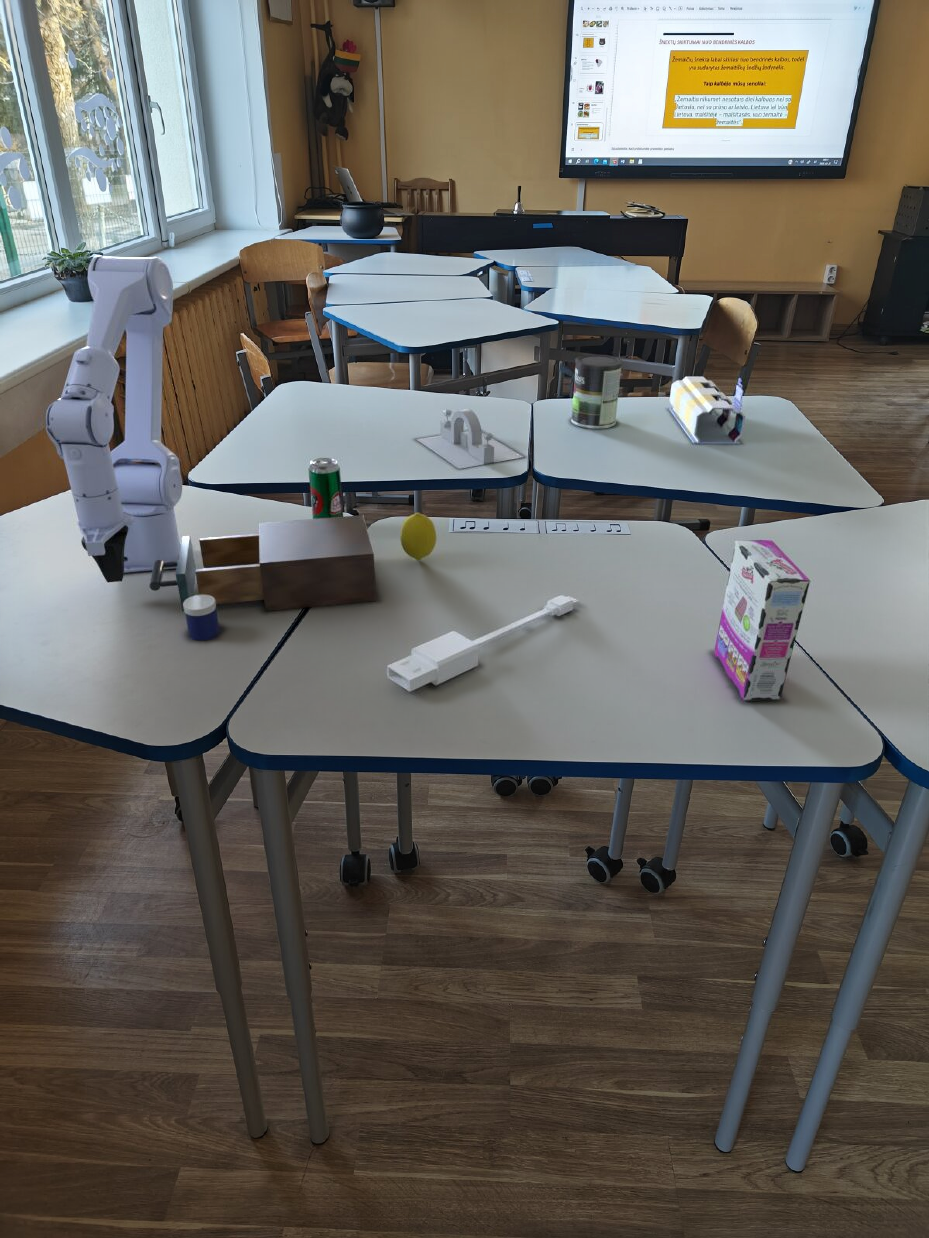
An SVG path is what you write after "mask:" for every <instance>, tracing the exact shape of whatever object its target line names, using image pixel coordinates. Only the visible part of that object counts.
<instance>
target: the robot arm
mask: <svg viewBox="0 0 929 1238" xmlns="http://www.w3.org/2000/svg"><path fill="white" fill-rule="evenodd" d="M87 283H88V288H89V292H90V296H91V298H92V300H93V305H92V311H91V316H90V322H89V327H88V333H87V338H86V344H85V347H82V348H79V349H77V350H75V351H74V353H73V356H72V359H71V362H70V366H69V369H68V372H67V376H66V379H65V383H64V385H63V390H62V393H61V396H60V398H57V399H56V400H55V401H54V402H52V403H50V405H49V406H48V408H47V410H46V414H45V422H46V427H45V430H46V434H47V436H48V438H49V440H50V441H51V443H53V445H54V446H55V449H56V452H57V456H59V458H61V459H63V462H64V465H65V470H66V473H67V477H68V482H69V486H70V491H71V495H72V499H73V501H74V506H75V511H76V515H77V519H78V520H77V526H78V530H79V531H80V533H81V535H82V538H81V541H80V542H81V546H82V548H83V549H84V550H85V551H86V552H87V555H88V557H92V559H93V560H94V561H95V563H96V565H97V566H98V569H99V570H100V572H101V574H102V576H103V578H104V579H105V581H106V583H118V582H123V580H124V576H125V573H136V572H148V571H153V567H154V563H155V561H156V560H162V561H163V562H176V561H178V557H179V551H180V545H181V540H180V534H179V529H178V524H177V519H176V513H175V508H174V507H176V505H177V504H178V503H179V502H180V500H181V498H182V494H183V479H182V475H181V467H180V459H179V457H178V456H177V455H176V454H175V453H174V452H173V451H171V449H169V448H168V447H167V446H166V445H164V444H163V443H162V401H163V400H162V399H163V397H162V396H163V355H164V354H163V351H164V349H163V347H164V346H163V345H164V343H163V342H164V328H165V327H166V326H168V325H170V324H171V323H172V321H173V308H174V306H173V304H174V282H173V279H172V276H171V273H170V270H169V267H168V266H167V264H166V263H165V261H164V260H163V259H162V258H161V257H159V256H153V257H123V256H122V257H121V256H104V255H95V256H93V257H92V259H91V260H90V262H89V265H88V269H87ZM124 333H126V346H125V347H126V354H125V357H126V358H125V407H124V408H125V410H124V411H125V413H124V414H125V416H124V418H125V420H124V440H123V442H121V443H120V444H119V445H117V446H116V447H115V448H114V449H112V450H111V448H110V444H109V443H110V442H111V440H112V438H113V435H114V429H115V421H114V412H115V409H114V408H115V407H114V405H113V404H112V400H113V396H114V393H115V389H116V386H117V381H118V378H119V374H120V370H121V369H120V364H119V362H118V361H117V360H116V359H115V355H116V354H117V350H118V348H119V345H120V342H121V340H122V338H123V336H124ZM147 463H148V464H147ZM149 463H158V464H149ZM170 569H177V567H167V568H164V570H170Z"/></svg>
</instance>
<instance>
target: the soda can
mask: <svg viewBox="0 0 929 1238" xmlns="http://www.w3.org/2000/svg"><path fill="white" fill-rule="evenodd" d="M308 480H309V490H310V502H311V516H312V519H319V518H332V517H344V505H343V493H342V479H341V467H340V465H339V464H338V461H337V460H336V459H334V458H331V457H318V458H315V459H312V460H311V461H310V465H309V467H308Z"/></svg>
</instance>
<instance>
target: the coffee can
mask: <svg viewBox="0 0 929 1238" xmlns="http://www.w3.org/2000/svg"><path fill="white" fill-rule="evenodd" d="M622 366H623V360H622V359H621V358H619V357H617V356H613V355H607V354H598V353H597V354H596V353H595V354H583V355H580V356H578V357H575V369H574V382H573V383H574V384H573V386H574V387H573V397H572V410H571V419H570V421H571V423H572V424H573V425H574V426H577V427H580V428H585V429H590V430H591V429H593V430H602V429H609V428H612V427H614V426H615V425H616V424H617V422H616V420H617V411H618V401H619V391H620V381H621V373H622Z"/></svg>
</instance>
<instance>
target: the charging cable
mask: <svg viewBox="0 0 929 1238" xmlns="http://www.w3.org/2000/svg"><path fill="white" fill-rule="evenodd" d="M578 602H579V600H578V599H576V598H574V597H572V596H570V595H568V596H565V595H563V594H561V595H559V596H556V597H553V598H551V599H549V600H547V602H546V604H545V605H543V609H541V610H538V611H535V612H534V613H532V614H530V615H528V616H525V617H522V618H521V619H518V620H516V621H514V622H512V623H509V624H508V625H505V626H502V627H500V628H498V629H497V630H494V631H491V632H490V633H487V634H485V635H483V636H481V637H479V638H476V639H473V640H471V639H469V638H467V637H466V636H464V635H462V634H460V633H459V632H456V631H455V630H452V631H450V632H448V633H445V634H443V635H441V636H438V637H436V638H433V639H431V640H429V641H427V642H425V643H424V642H423V643H422V644H420V645H418V646H415V647H413V648H411V655H408V656H406V657H404V658H401V659H399V660H397V661H395V662H392V663H390V664H388V665H386V677H387V678H388V679H389V680H392V681H393V682H394V683H396V684H397V685H398V686H400V687H402V688H403V689H404V690H406V691H408V692H409V693H410V692H412V691H415V690H416V689H419V688H421V687H424V686H425V685H427V684H430V683H432V684H433V685H434V686H438V685H440V684H442V683H445V682H446V681H448V680H451V679H453V678H455V677H457V676H459V675H461V674H462V673H465V672H467V671H469V670H471V669H474V668H476V667H478V665H479V652H480V646H483V645H484V644H487V643H489V642H491V641H493V640H495V639H498V638H500V637H502V636H504V635H506V634H510V633H511V632H513V631H515V630H518V629H520V628H522V627H524V626H526V625H528V624H530V623H533V622H535V621H538V620H539V619H541V618H543V617H546V616H548V615H549V616H557V617H560V616H562V615H565V614H566V613H568V612H570V611H572V610H574V604H576V603H578Z"/></svg>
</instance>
